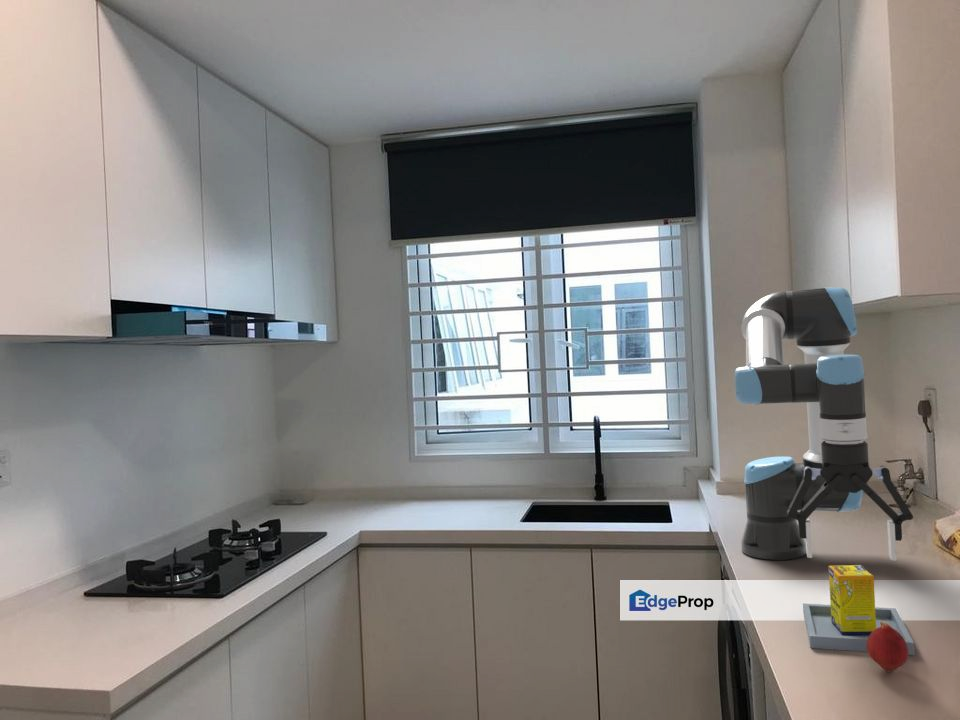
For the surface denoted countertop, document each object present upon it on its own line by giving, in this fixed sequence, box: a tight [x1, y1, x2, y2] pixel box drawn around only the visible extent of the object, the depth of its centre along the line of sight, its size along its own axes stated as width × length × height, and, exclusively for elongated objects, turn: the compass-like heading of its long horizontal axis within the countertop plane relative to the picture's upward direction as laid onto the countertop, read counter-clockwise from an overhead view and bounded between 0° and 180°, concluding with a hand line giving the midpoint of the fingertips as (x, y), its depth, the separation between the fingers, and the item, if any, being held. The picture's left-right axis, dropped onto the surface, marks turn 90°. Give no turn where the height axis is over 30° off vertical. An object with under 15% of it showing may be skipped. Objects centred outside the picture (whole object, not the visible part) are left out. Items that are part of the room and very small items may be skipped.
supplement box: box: [827, 564, 876, 636], centre depth 133 cm, size 6×6×11 cm
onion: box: [866, 622, 909, 673], centre depth 118 cm, size 6×6×8 cm
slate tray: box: [802, 603, 916, 656], centre depth 133 cm, size 16×16×2 cm
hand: (850, 556), depth 133 cm, fingers open, 13 cm apart
